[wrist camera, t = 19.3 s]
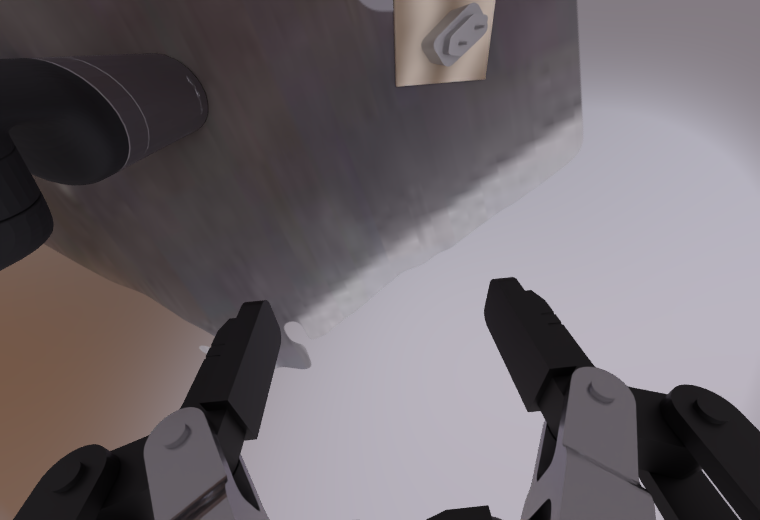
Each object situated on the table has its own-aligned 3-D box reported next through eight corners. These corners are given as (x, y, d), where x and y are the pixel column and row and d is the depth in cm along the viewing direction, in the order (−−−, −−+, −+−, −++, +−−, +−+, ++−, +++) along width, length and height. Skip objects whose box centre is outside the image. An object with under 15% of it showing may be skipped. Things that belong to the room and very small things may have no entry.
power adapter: (418, 44, 36) (441, 43, 26) (455, 6, 34) (494, -10, 25) (432, 66, 38) (459, 73, 28) (468, 31, 36) (510, 26, 26)
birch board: (395, 85, 39) (396, 86, 39) (392, -15, 33) (393, -16, 33) (482, 78, 40) (485, 79, 39) (495, -23, 34) (498, -24, 33)
